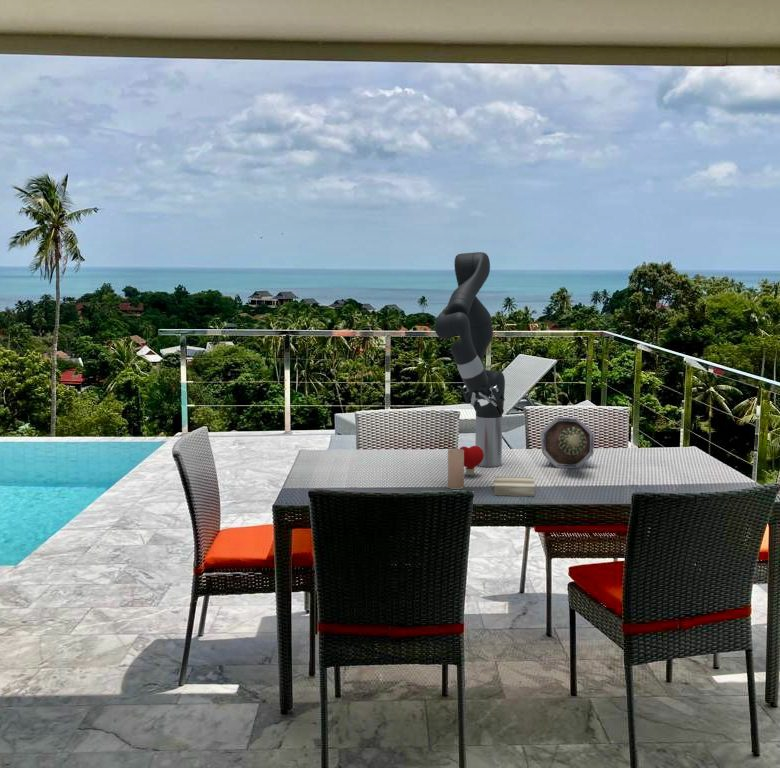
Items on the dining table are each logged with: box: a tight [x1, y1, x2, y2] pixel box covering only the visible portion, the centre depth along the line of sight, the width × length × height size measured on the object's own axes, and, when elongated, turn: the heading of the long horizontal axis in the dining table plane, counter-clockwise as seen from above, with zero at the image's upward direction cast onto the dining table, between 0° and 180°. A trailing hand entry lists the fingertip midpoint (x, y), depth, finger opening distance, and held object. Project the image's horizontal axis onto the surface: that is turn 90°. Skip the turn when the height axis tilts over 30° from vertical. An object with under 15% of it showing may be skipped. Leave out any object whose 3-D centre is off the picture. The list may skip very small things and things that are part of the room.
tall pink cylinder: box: [447, 448, 465, 490], centre depth 264 cm, size 5×5×12 cm
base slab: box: [493, 476, 536, 497], centre depth 261 cm, size 12×12×3 cm
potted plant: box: [540, 416, 595, 469], centre depth 289 cm, size 18×18×30 cm
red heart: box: [459, 445, 484, 477], centre depth 280 cm, size 9×7×10 cm
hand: (490, 413), depth 268 cm, fingers open, 8 cm apart
